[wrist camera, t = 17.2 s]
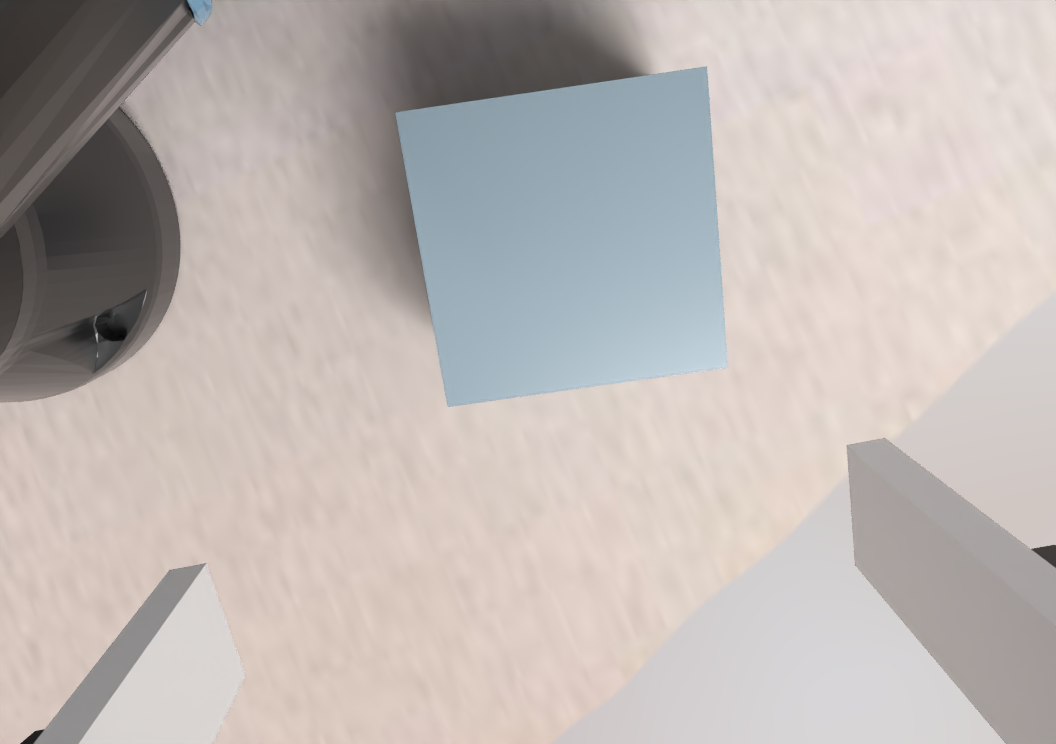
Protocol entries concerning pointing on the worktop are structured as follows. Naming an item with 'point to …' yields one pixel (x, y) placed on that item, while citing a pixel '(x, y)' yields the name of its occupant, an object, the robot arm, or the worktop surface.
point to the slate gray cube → (569, 235)
